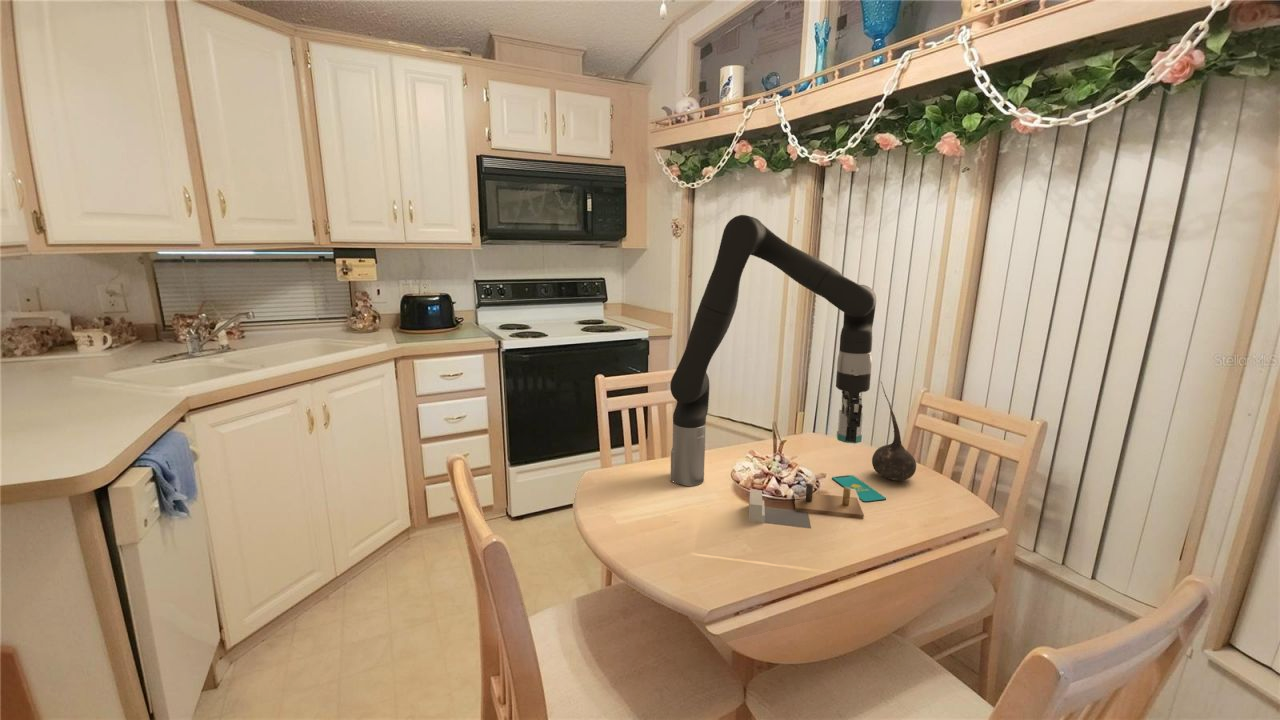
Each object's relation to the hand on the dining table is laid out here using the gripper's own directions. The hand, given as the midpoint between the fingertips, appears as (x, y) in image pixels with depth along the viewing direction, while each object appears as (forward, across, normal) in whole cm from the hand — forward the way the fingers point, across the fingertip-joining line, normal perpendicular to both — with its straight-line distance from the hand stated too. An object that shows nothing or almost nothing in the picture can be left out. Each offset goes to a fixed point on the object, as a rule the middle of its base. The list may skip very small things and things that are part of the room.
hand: (848, 436), depth 124 cm
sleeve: (+1, 0, 0) cm, 1 cm away
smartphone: (+21, -15, +6) cm, 26 cm away
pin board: (+20, -1, -4) cm, 21 cm away
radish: (+21, -24, +16) cm, 35 cm away
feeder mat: (+20, +7, -16) cm, 27 cm away
